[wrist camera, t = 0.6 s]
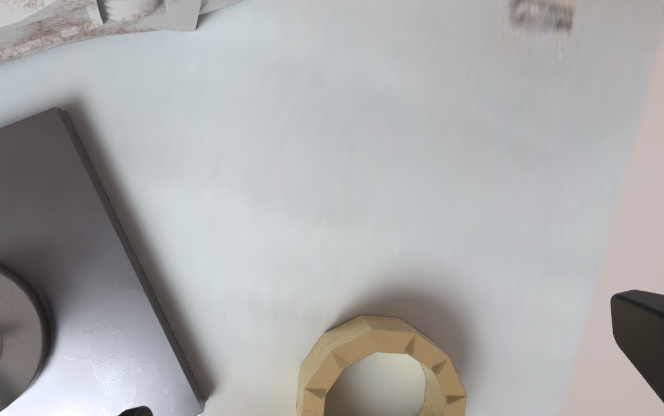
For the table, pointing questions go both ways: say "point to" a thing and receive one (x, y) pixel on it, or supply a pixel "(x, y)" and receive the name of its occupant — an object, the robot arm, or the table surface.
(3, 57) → the wrench
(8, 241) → the piston stand
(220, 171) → the table surface
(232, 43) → the table surface
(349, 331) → the ring
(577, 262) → the table surface
